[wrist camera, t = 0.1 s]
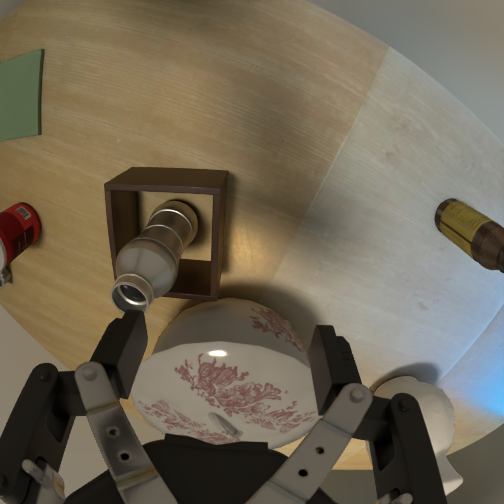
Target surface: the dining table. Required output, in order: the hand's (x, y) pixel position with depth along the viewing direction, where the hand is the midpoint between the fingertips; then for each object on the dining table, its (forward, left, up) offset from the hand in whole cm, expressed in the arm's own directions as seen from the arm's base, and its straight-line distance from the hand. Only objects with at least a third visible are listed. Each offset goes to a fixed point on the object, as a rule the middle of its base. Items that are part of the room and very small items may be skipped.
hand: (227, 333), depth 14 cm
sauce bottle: (+1, +33, -30) cm, 45 cm away
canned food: (+8, -38, -30) cm, 49 cm away
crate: (+6, -9, -30) cm, 32 cm away
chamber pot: (+27, 0, -30) cm, 41 cm away
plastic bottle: (+6, -9, -30) cm, 32 cm away
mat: (-14, -39, -30) cm, 51 cm away
